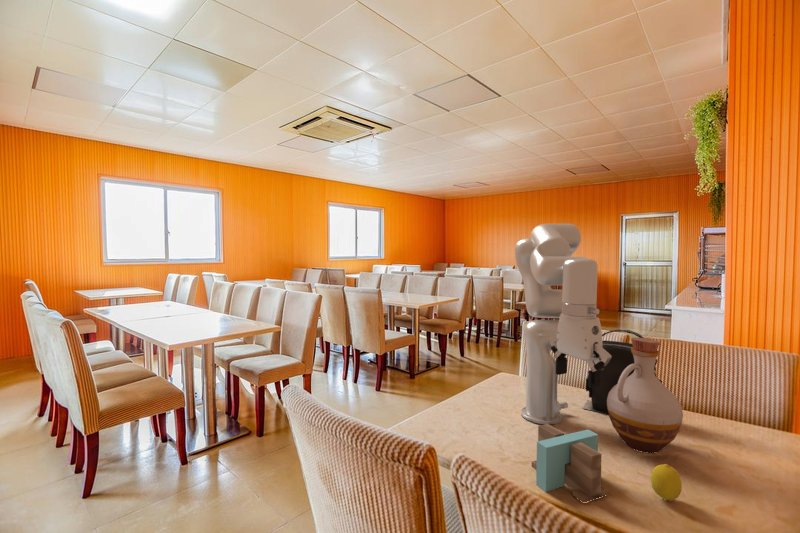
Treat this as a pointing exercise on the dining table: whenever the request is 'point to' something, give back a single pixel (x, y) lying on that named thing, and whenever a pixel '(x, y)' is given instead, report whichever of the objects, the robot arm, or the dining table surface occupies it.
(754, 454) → the dining table surface
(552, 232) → the robot arm
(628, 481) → the dining table surface
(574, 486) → the walnut stand
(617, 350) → the shoulder bag
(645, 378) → the jug
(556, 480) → the teal notched arch
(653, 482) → the lemon
